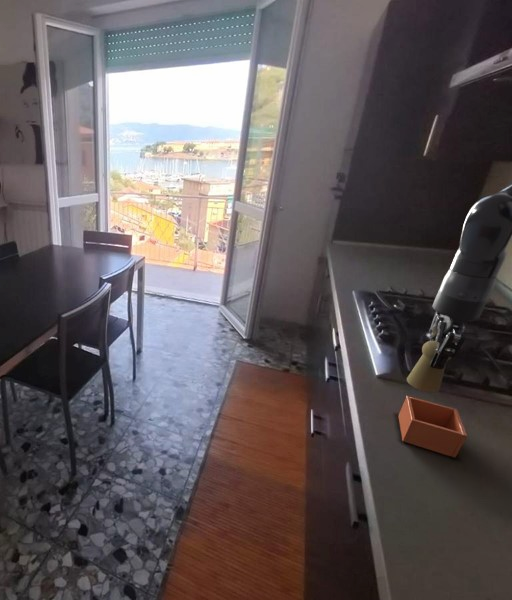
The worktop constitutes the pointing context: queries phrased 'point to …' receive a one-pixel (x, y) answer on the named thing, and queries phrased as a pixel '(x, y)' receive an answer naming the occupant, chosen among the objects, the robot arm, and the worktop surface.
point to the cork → (426, 371)
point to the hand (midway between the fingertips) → (433, 360)
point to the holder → (431, 426)
